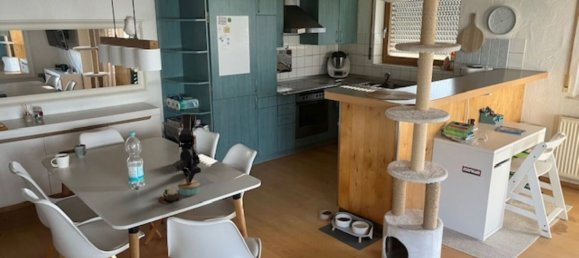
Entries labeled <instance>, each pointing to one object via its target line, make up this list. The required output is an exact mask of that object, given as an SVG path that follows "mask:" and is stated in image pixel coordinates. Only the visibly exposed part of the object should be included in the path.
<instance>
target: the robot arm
mask: <svg viewBox="0 0 579 258" xmlns="http://www.w3.org/2000/svg"><path fill="white" fill-rule="evenodd" d="M180 122H181V123H182V129H181V130H180V132H179V133H180V135H179V134H178V148H179V147H181V148H182V150H181V154H180V153H179V160H177V161H175V162H174V163H172V167H173V169H174V170H175V171H176V172H180V171H182V174H183V177H185V180H186V177H188V178H189V182H192V180H194V176H195V175H196V174H199V173H202V168H201V167H199V166H198V165H200V164H201V160H200V159H201V158H200V156H199V154H198V150H197V151H196V150H195V149H194V135H195V134H194V127H195V125H196V122H197V116H196V114H193V113H184V114H182V115H181V116H180ZM180 142H181V143H184V144H181V145H180Z"/></svg>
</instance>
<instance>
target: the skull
mask: <svg viewBox="0 0 579 258" xmlns="http://www.w3.org/2000/svg"><path fill="white" fill-rule="evenodd" d="M181 200H182V199H181V198H179V190H177V188H176V187H175V186H171V185H170V186H167V187H166V188H164V191H163V192H162V195H161V196H160V197H158V201H159V203H161V204H165V205H171V204H173V203H174V202H178V201H181Z"/></svg>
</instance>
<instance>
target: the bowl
mask: <svg viewBox="0 0 579 258" xmlns="http://www.w3.org/2000/svg"><path fill="white" fill-rule="evenodd" d="M199 192H200V187H197V188H194V189H188V190H186V189H180V188H179V187H178V194H180V196H181V195H182V196H193V195H196V194H199Z"/></svg>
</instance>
